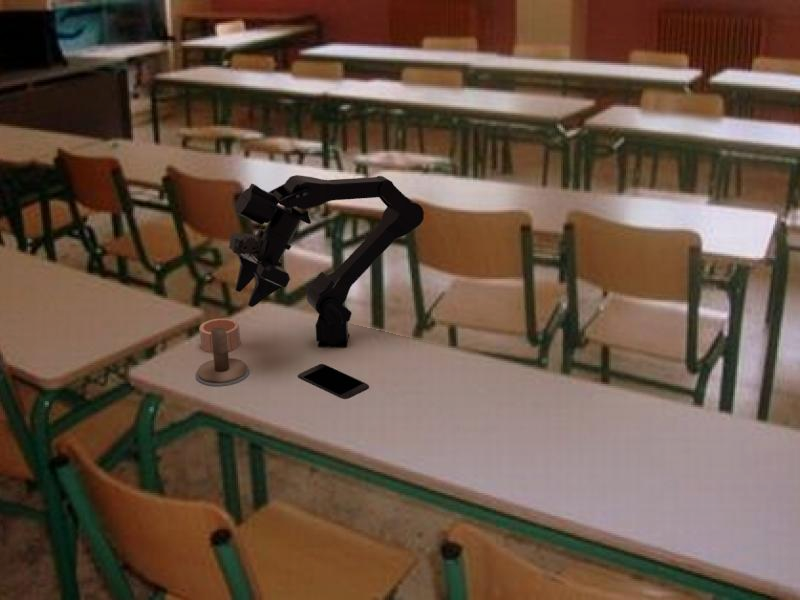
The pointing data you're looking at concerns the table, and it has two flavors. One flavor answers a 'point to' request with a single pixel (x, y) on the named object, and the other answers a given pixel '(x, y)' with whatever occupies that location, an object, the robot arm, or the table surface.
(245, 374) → the mat
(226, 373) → the post with round base
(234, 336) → the bowl
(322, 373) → the smartphone
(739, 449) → the table surface
